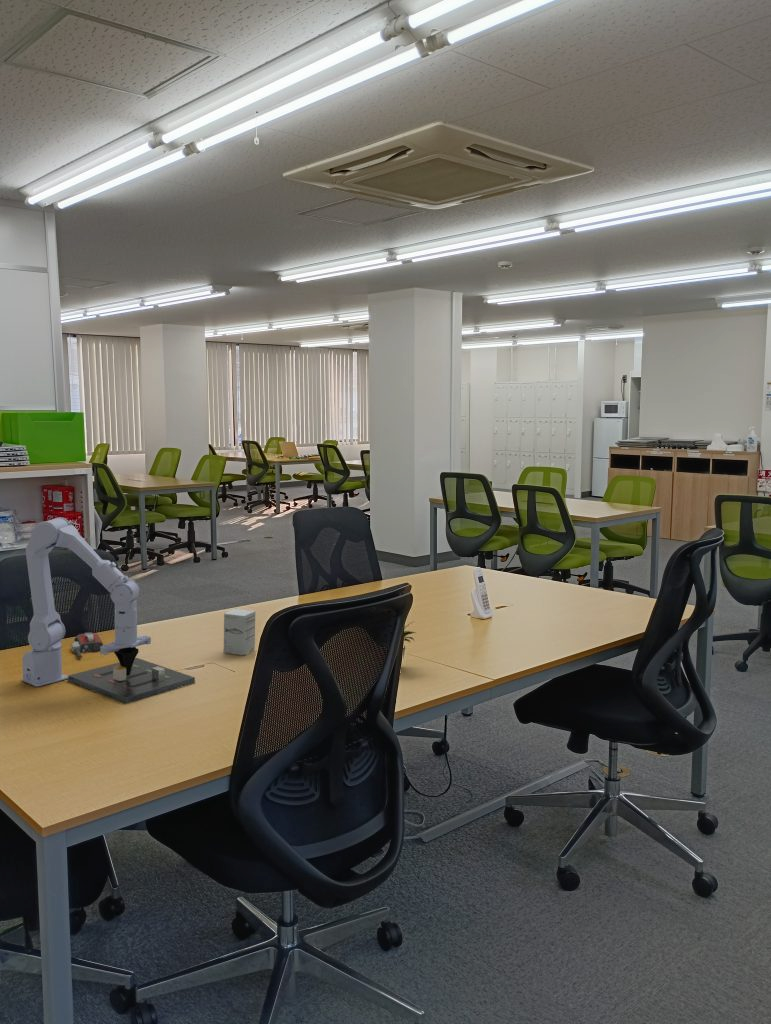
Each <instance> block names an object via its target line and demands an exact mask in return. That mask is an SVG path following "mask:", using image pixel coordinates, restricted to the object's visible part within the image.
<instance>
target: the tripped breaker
mask: <svg viewBox="0 0 771 1024" xmlns="http://www.w3.org/2000/svg"><path fill="white" fill-rule="evenodd" d="M113 679H115V680H118V681H122V680H126V667H123V666H120V665H119V666H115V667H113Z"/></svg>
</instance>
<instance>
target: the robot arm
mask: <svg viewBox="0 0 771 1024" xmlns="http://www.w3.org/2000/svg"><path fill="white" fill-rule="evenodd" d="M55 547H58V548H65V549H70V550H71V551H72V552H73V553H74V554H75V555H76V556H78V557H79V558H80V559H81V560H82V561H83V562H85V564H87V565H88V566H89V568H91V574H92V577H94V578H95V580H97V582H99V583H100V584H101V585H102V586H103V588H105V589H106V590H107V591H108V593H110V595H109V596H110V599H111V601H112V602H113V603H114V641H112V642H109V643H107V644H105V645H104V644H103V646H101V647H100V651H99V652H100V654H101V655H103V656H106V655H109V654H112V653H114V654H115V656H116V659H117V660H118V663H119V662H120V665H121V666H123V667H126V676H129V675H130V672H131V668H132V665H133V662H134V660H135V658H137V656H138V654H139V652H140V651H139V648H138V647H139V646H143V645H150V644H151V643H152V638H151V636H149V635H143V636H138V611H137V610H138V608H137V605H138V604H137V602H138V601H137V598H139V595H140V592H141V589H140V585H139V584H138V582H137V581H136V580H134V579H131V578H129V576H127V575H124V574H123V573H122V572H121V570H120V569H118V567H116V566H117V563H116V562H114V561H112V562H111V560H108V559H102V557H100V555H99V554H98V553H96V551H95V550H94V548H92V547H91V546H90V544H89V543H88V541H86V540H85V538H83V536H82V535H81V534H80V533H79V531H78V529H77V528H76V526H74V525H73V524H72V523H70V521H69V520H68V519H66V517H60V516H58V517H55V518H53V519H50V520H47V521H46V520H45V521H41V522H38V523H37V524H36V525H35V526H34V527H33V528H32V529H31V530H30V537H29V539H28V542H27V545H26V547H25V557H26V564H27V565H26V567H27V572H28V579H29V580H28V581H29V587H30V594H31V603H32V604H31V605H32V609H33V616H32V617H31V620H30V621H29V632H28V634H27V642H28V645H30V647H31V648H32V649H31V650H29V651H26V652H24V654H23V656H22V678H21V681H22V682H24V683H26V684H29V685H32V686H34V687H42V686H46V685H49V684H53V683H58V682H61V681H66V680H68V675H65V674H63V660H62V659H63V658H62V657H63V655H62V654H63V653H62V652H63V651H62V648H63V647H62V640H63V638H64V637H65V635H66V627H65V624H64V623H63V621H62V619H61V615H60V614H59V612H57V611H56V606H55V598H54V590H53V584H52V583H53V582H52V576H51V575H52V573H51V567H50V561H49V560H50V559H49V554H50V552H52V550H53V549H54V548H55Z"/></svg>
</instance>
